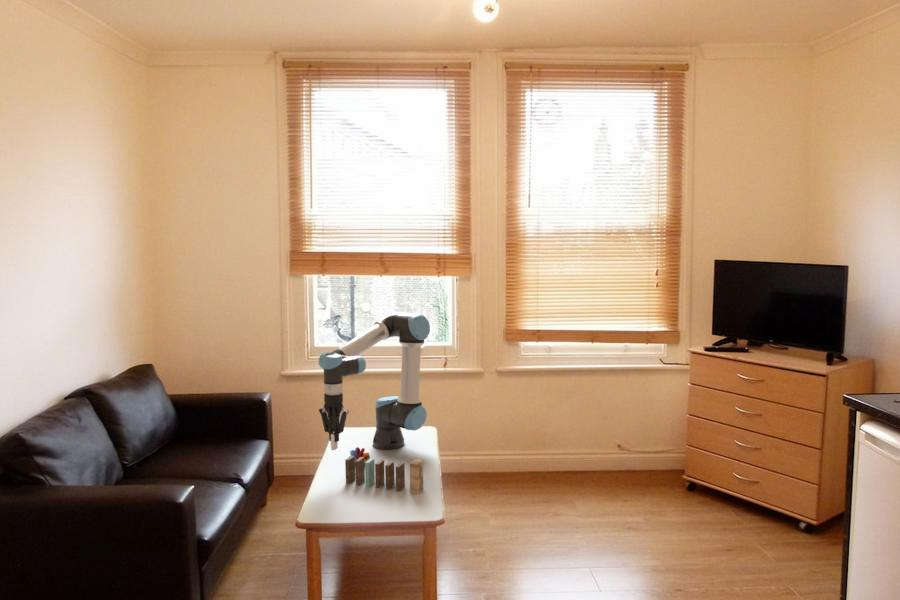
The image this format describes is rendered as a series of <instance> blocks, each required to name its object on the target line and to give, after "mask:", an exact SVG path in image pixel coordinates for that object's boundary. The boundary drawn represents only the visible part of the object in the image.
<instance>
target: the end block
mask: <svg viewBox="0 0 900 600" xmlns="http://www.w3.org/2000/svg"><path fill="white" fill-rule="evenodd" d="M423 490H424V460H423V459H418V458H417V459H412V461H411V462H409V494H413V495H419V494H420V493H421V492H422V491H423Z"/></svg>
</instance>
